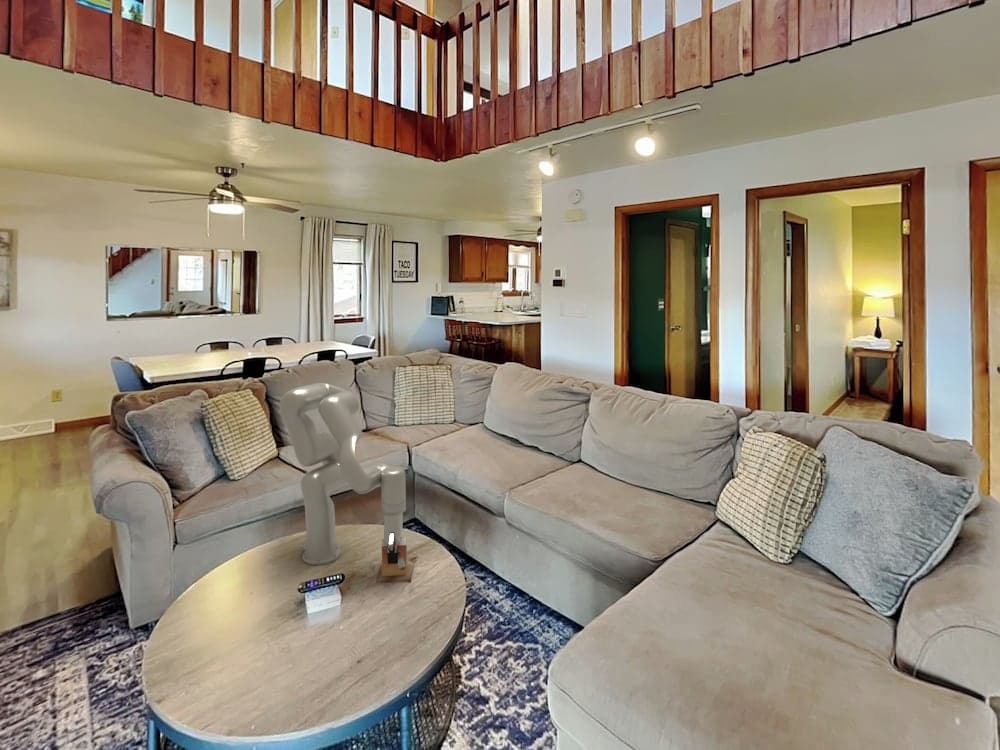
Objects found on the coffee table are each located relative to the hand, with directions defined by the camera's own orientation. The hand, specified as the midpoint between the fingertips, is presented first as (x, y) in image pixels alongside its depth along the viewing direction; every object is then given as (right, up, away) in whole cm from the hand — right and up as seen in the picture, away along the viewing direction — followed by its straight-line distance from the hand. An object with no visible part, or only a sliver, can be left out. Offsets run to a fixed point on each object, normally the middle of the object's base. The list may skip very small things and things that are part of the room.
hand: (394, 555), depth 172 cm
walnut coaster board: (0, -7, +1) cm, 7 cm away
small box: (0, -6, +1) cm, 6 cm away
